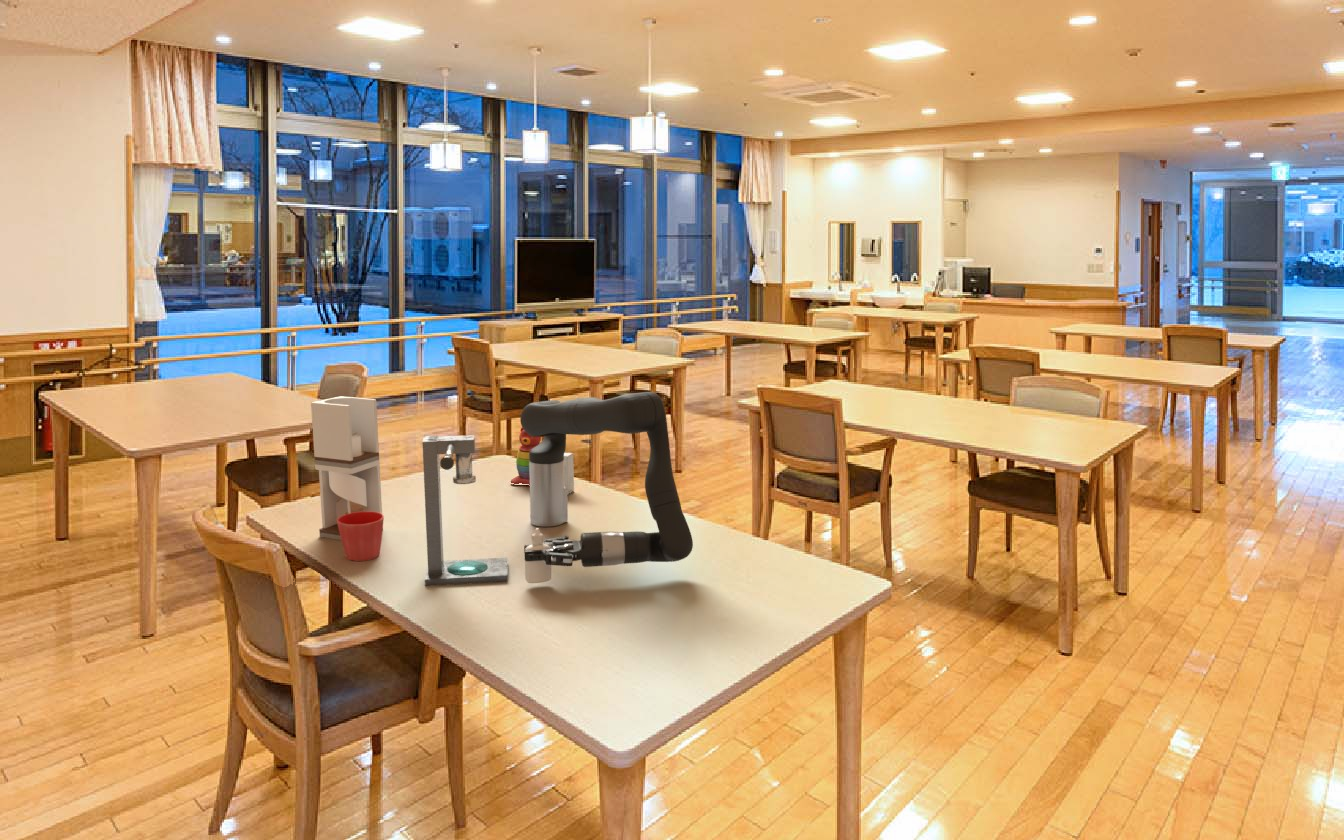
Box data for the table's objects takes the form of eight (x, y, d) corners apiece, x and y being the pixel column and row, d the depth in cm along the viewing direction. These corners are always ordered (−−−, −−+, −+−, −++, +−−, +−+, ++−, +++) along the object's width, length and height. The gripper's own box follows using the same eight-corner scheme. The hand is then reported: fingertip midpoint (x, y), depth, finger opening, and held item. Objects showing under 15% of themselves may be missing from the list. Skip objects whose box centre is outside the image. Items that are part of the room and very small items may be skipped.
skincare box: (574, 491, 287) (574, 453, 285) (568, 494, 283) (567, 456, 281) (556, 489, 289) (555, 451, 287) (550, 493, 285) (549, 454, 283)
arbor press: (507, 563, 223) (504, 431, 217) (507, 603, 199) (503, 455, 193) (429, 567, 220) (423, 433, 214) (420, 608, 196) (413, 458, 190)
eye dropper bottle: (529, 576, 211) (527, 524, 209) (553, 577, 210) (552, 526, 208) (523, 583, 207) (521, 531, 204) (548, 584, 206) (547, 532, 204)
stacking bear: (507, 485, 294) (506, 429, 290) (523, 477, 303) (522, 423, 300) (538, 488, 290) (537, 432, 287) (553, 480, 299) (553, 426, 296)
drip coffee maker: (319, 536, 242) (310, 402, 235) (348, 525, 252) (340, 396, 245) (355, 542, 238) (347, 405, 231) (383, 530, 247) (376, 399, 241)
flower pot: (343, 566, 221) (340, 526, 219) (336, 552, 230) (333, 514, 228) (389, 559, 225) (387, 520, 224) (380, 546, 235) (378, 508, 233)
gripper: (599, 523, 216) (523, 526, 213) (605, 543, 202) (524, 547, 199) (599, 554, 217) (524, 558, 214) (606, 576, 204) (525, 580, 201)
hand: (524, 552), depth 207 cm, fingers closed on eye dropper bottle, 3 cm apart
